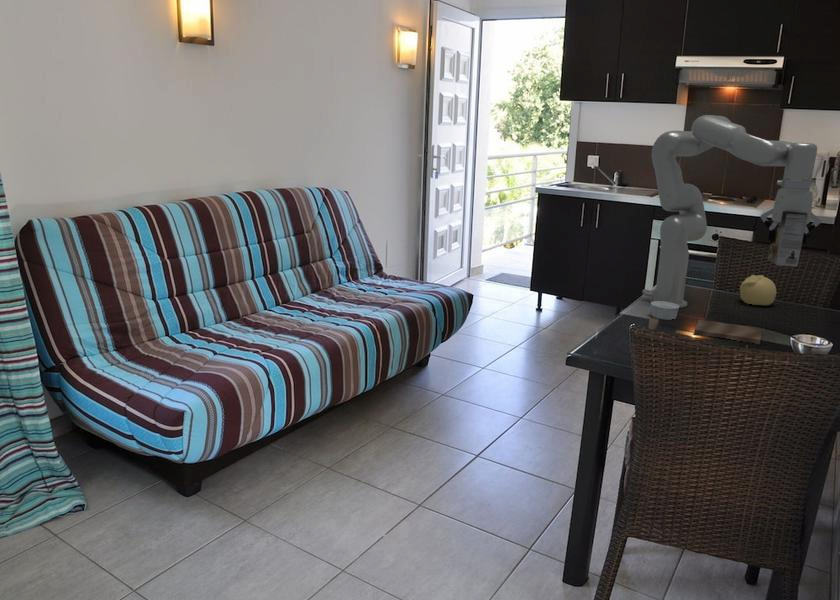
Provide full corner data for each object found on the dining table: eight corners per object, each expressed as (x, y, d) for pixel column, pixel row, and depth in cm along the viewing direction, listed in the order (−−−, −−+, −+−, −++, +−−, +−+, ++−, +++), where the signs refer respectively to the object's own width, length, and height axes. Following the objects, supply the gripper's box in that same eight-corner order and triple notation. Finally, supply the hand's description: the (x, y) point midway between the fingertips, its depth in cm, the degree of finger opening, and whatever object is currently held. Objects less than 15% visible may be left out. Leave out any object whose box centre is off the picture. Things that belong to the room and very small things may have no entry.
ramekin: (678, 316, 231) (680, 303, 230) (676, 322, 223) (678, 309, 222) (651, 312, 235) (652, 299, 234) (647, 318, 227) (649, 305, 226)
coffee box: (766, 259, 216) (775, 208, 212) (788, 261, 215) (798, 209, 211) (775, 265, 208) (785, 211, 204) (798, 267, 206) (808, 213, 202)
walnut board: (693, 334, 209) (694, 329, 209) (698, 323, 222) (698, 319, 221) (759, 344, 202) (760, 339, 201) (760, 332, 214) (761, 328, 214)
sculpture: (741, 298, 259) (745, 270, 257) (776, 304, 253) (781, 275, 250) (734, 304, 250) (738, 275, 248) (770, 310, 244) (775, 280, 241)
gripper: (764, 184, 206) (754, 243, 210) (831, 188, 199) (819, 249, 203) (763, 182, 212) (754, 239, 217) (828, 187, 205) (817, 246, 210)
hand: (785, 244), depth 210 cm, fingers closed on coffee box, 7 cm apart
